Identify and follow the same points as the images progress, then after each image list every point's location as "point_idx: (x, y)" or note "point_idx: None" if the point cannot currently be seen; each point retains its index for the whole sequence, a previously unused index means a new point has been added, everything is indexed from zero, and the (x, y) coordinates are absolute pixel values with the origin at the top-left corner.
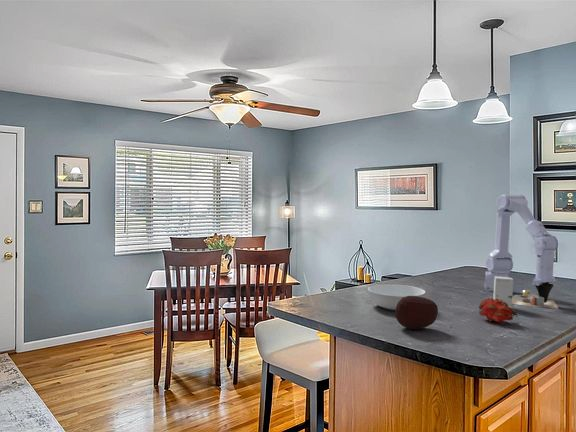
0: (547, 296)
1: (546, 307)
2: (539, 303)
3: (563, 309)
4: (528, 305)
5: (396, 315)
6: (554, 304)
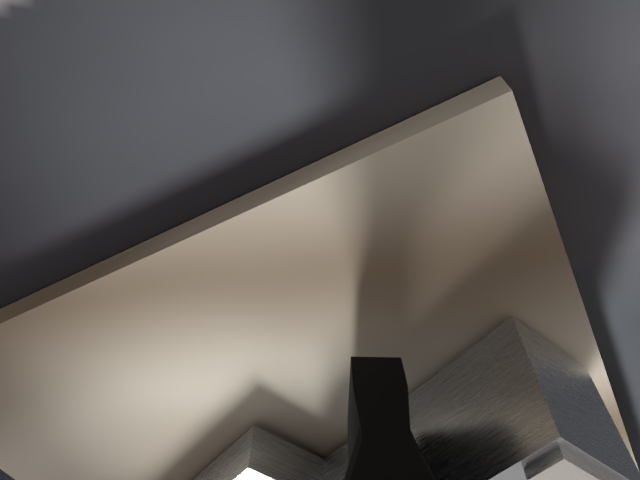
0: (399, 444)
1: (568, 260)
2: (576, 382)
3: (272, 66)
4: (620, 431)
5: None
6: (181, 269)
